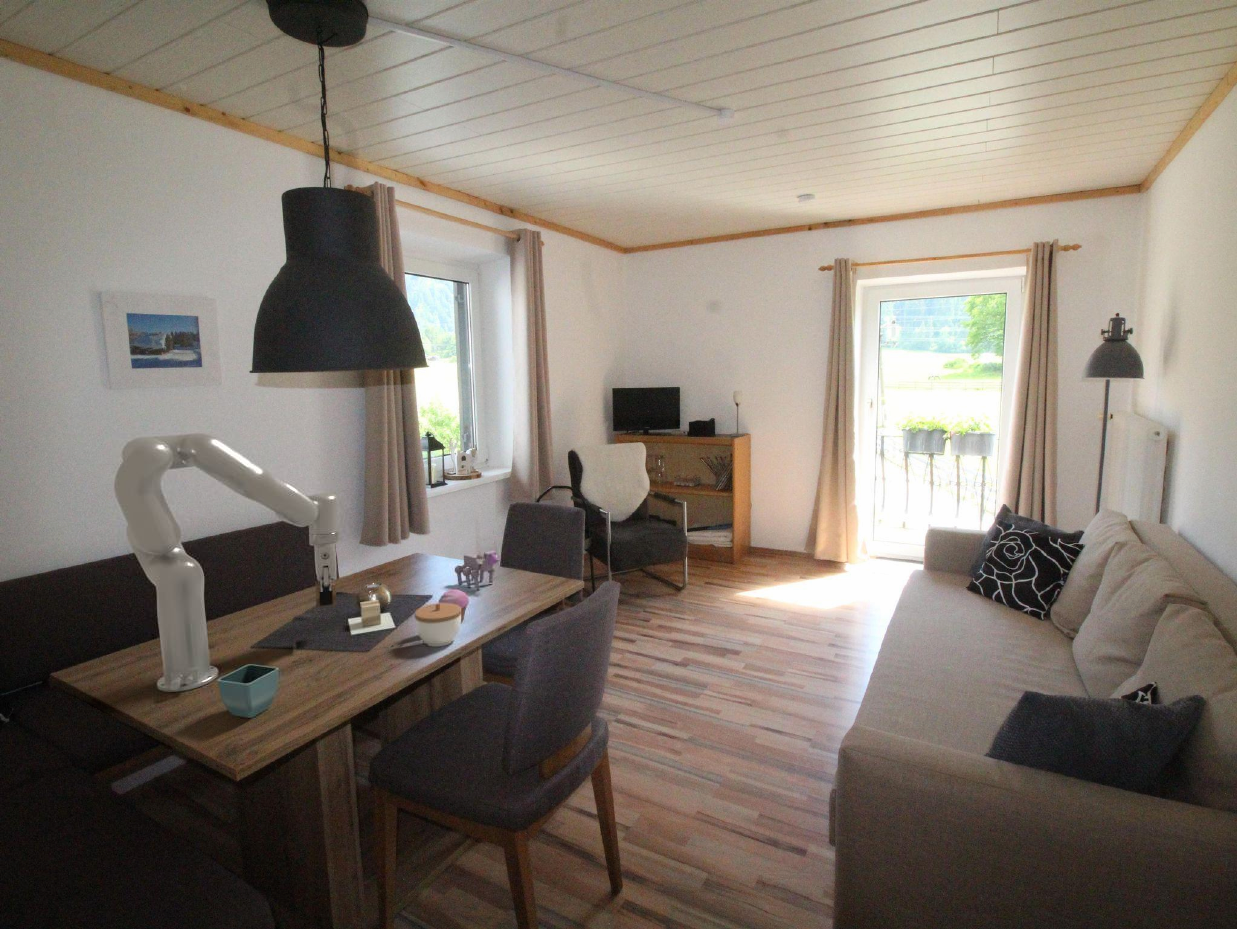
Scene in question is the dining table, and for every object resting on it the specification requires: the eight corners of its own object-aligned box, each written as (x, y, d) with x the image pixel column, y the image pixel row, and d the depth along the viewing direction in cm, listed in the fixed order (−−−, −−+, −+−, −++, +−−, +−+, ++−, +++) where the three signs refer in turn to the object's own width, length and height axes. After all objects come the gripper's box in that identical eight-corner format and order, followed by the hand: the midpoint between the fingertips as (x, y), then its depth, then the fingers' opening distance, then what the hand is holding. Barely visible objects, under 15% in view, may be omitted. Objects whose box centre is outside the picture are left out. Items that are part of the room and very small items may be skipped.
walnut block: (336, 605, 183) (335, 584, 182) (316, 607, 181) (315, 586, 180) (335, 600, 187) (334, 579, 187) (316, 602, 185) (315, 581, 185)
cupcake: (453, 615, 204) (451, 584, 203) (475, 619, 200) (474, 587, 199) (433, 625, 196) (432, 593, 195) (456, 629, 192) (455, 596, 191)
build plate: (395, 631, 192) (395, 627, 192) (351, 638, 186) (351, 634, 186) (389, 616, 204) (389, 612, 204) (348, 622, 199) (347, 619, 199)
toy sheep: (513, 587, 231) (510, 550, 229) (490, 596, 223) (486, 558, 221) (476, 577, 244) (473, 542, 241) (453, 586, 235) (449, 549, 233)
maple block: (381, 624, 194) (379, 604, 193) (363, 627, 192) (361, 607, 191) (379, 618, 198) (378, 599, 198) (361, 621, 196) (360, 602, 196)
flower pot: (252, 700, 151) (248, 663, 150) (283, 705, 148) (280, 667, 147) (219, 719, 142) (215, 679, 141) (251, 724, 140) (247, 684, 139)
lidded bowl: (437, 630, 192) (435, 594, 190) (472, 637, 186) (470, 599, 185) (406, 646, 181) (404, 607, 179) (441, 653, 175) (439, 614, 174)
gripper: (340, 543, 176) (342, 609, 178) (337, 531, 192) (338, 592, 193) (309, 545, 173) (311, 612, 175) (308, 533, 188) (310, 595, 190)
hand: (325, 601), depth 184 cm, fingers closed on walnut block, 5 cm apart
